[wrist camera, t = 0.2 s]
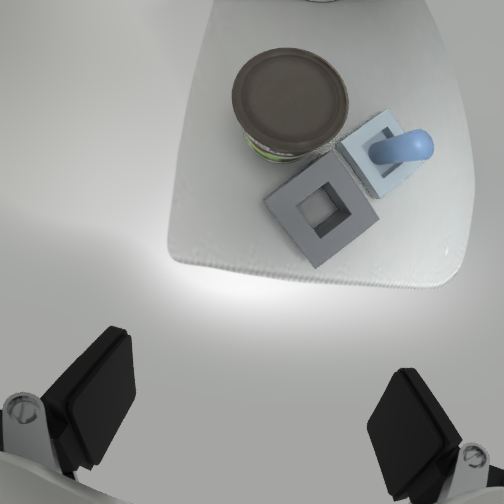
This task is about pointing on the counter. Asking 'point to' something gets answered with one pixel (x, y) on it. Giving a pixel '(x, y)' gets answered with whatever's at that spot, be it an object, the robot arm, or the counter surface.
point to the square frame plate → (356, 153)
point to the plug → (402, 148)
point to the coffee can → (289, 103)
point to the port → (336, 226)
